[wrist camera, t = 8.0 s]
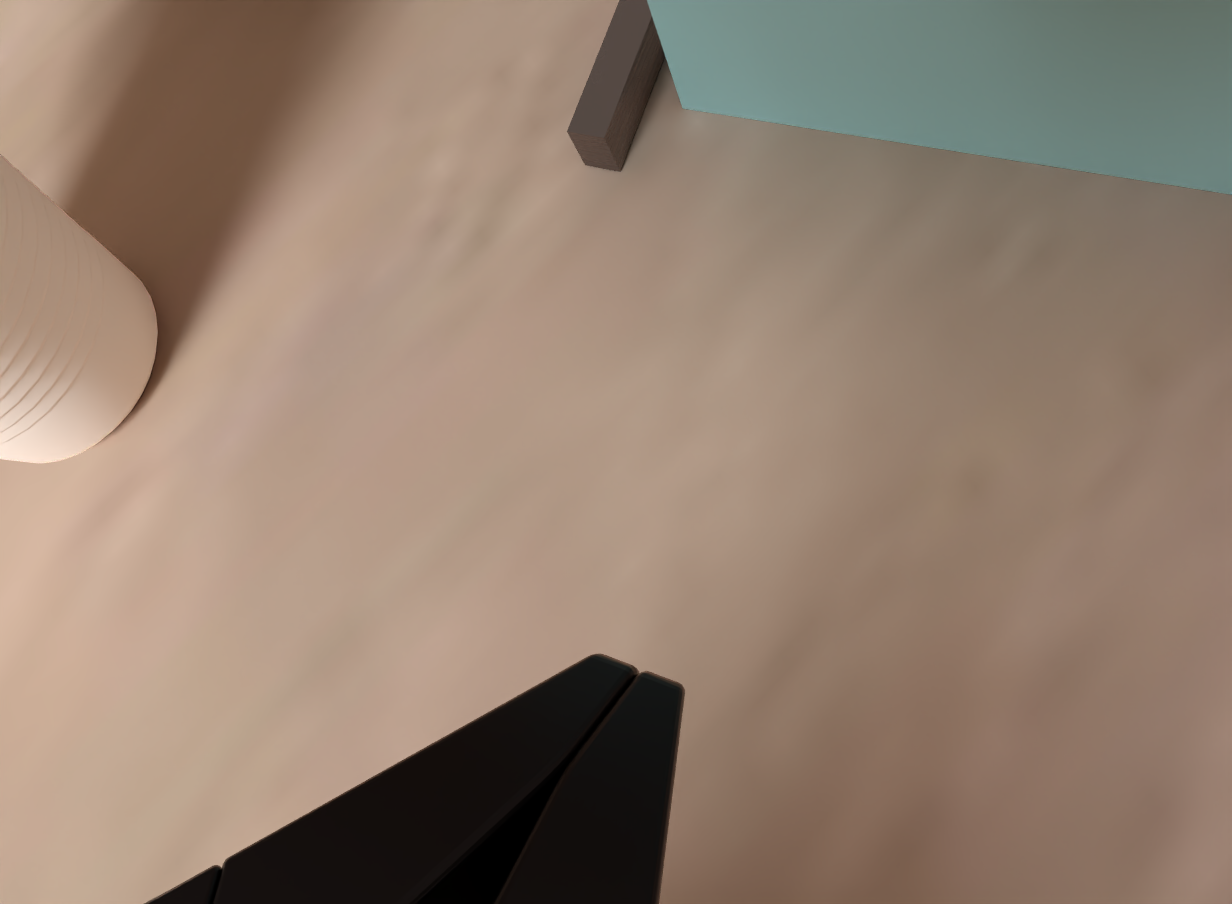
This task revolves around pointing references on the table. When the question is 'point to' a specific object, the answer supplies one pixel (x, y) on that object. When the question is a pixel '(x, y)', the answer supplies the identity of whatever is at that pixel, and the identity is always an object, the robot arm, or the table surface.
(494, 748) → the robot arm
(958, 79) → the t block
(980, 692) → the table surface
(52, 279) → the cup
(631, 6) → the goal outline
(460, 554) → the table surface
